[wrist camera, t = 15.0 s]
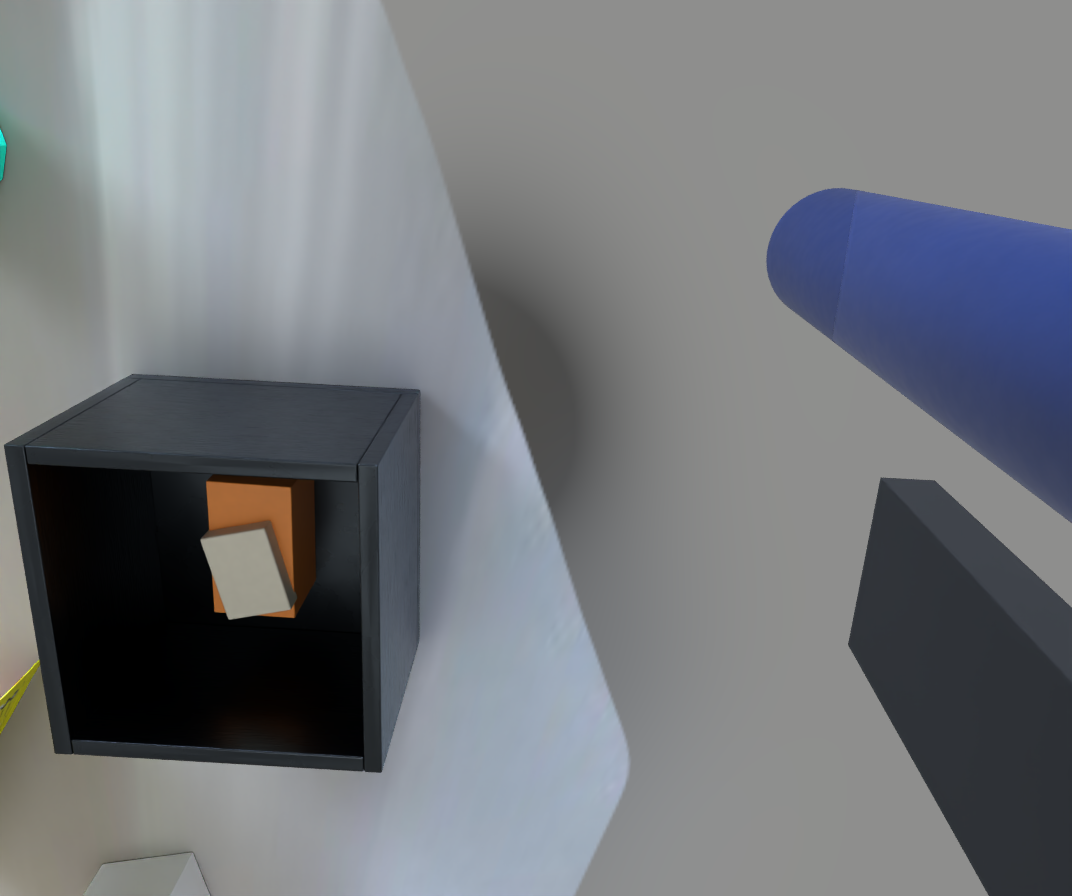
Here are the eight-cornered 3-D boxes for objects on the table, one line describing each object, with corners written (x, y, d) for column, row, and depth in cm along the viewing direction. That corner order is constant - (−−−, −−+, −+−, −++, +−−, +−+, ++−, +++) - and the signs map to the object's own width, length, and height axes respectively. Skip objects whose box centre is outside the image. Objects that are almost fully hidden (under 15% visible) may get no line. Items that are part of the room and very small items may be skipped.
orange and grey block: (315, 457, 45) (287, 494, 40) (317, 580, 47) (291, 628, 42) (234, 451, 45) (195, 488, 40) (240, 574, 47) (205, 622, 42)
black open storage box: (420, 389, 44) (377, 465, 34) (419, 640, 49) (381, 773, 39) (131, 373, 44) (3, 444, 34) (159, 626, 49) (54, 754, 39)
